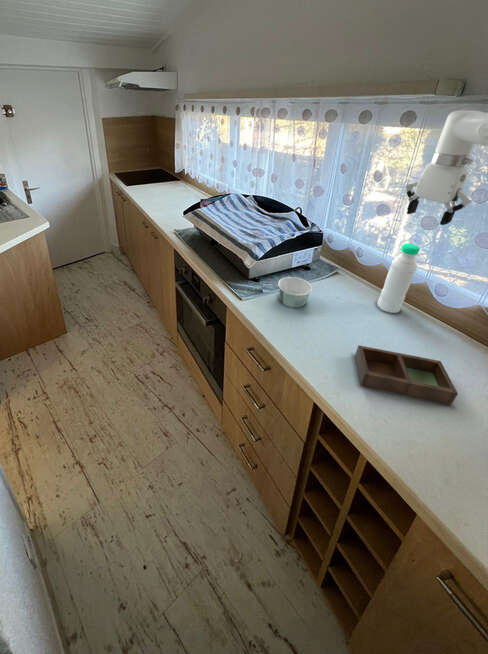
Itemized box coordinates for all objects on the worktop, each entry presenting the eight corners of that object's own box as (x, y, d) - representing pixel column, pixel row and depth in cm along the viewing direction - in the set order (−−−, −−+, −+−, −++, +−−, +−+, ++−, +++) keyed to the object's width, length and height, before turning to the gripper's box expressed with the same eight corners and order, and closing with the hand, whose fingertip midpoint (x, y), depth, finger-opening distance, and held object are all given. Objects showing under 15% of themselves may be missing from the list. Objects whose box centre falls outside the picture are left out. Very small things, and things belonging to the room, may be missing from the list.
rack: (434, 372, 85) (440, 360, 82) (450, 405, 76) (458, 393, 73) (354, 356, 90) (358, 345, 88) (360, 385, 81) (365, 373, 79)
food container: (292, 313, 108) (295, 298, 104) (269, 296, 117) (271, 282, 114) (316, 303, 113) (319, 288, 110) (291, 287, 122) (294, 273, 119)
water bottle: (395, 303, 112) (419, 242, 100) (402, 315, 106) (428, 251, 94) (374, 300, 114) (395, 240, 102) (380, 312, 108) (403, 249, 96)
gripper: (494, 164, 78) (466, 226, 86) (425, 154, 92) (406, 208, 100) (478, 167, 76) (450, 231, 84) (408, 156, 90) (391, 211, 98)
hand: (426, 218), depth 92 cm, fingers open, 9 cm apart
